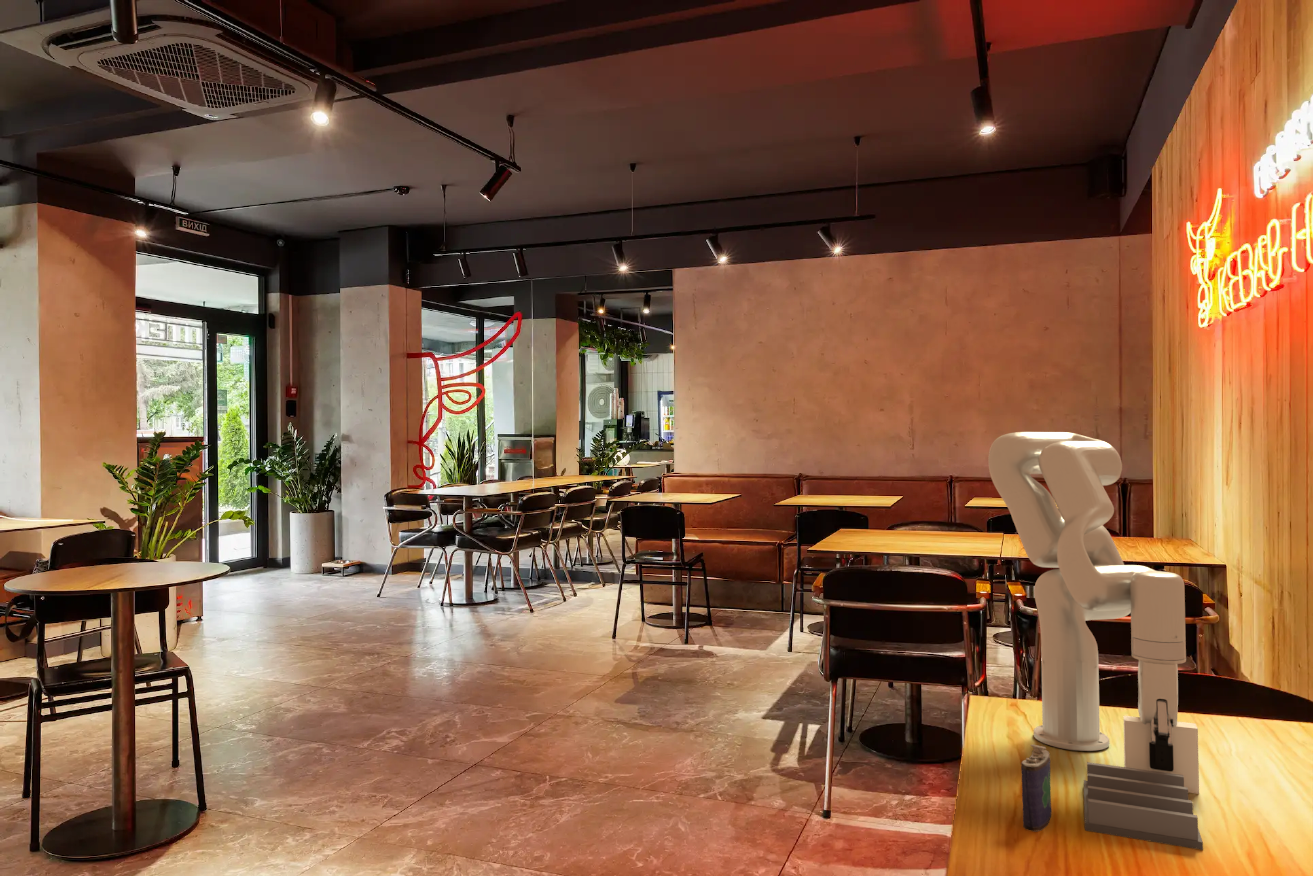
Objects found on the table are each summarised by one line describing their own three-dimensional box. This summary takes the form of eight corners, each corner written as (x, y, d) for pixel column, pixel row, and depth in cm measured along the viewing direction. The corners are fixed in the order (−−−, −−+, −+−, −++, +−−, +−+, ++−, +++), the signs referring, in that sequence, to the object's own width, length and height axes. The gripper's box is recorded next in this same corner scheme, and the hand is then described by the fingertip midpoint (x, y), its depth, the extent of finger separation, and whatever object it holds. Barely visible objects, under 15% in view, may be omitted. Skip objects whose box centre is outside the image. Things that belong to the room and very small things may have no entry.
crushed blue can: (1035, 807, 128) (1034, 735, 128) (1056, 812, 126) (1055, 738, 126) (1019, 829, 120) (1018, 752, 121) (1042, 834, 119) (1041, 756, 119)
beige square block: (1124, 777, 140) (1123, 715, 140) (1196, 787, 136) (1195, 723, 136) (1125, 783, 137) (1124, 720, 137) (1199, 794, 133) (1197, 728, 133)
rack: (1083, 786, 136) (1083, 761, 136) (1187, 801, 130) (1186, 775, 130) (1084, 830, 120) (1084, 801, 120) (1202, 850, 114) (1202, 819, 114)
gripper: (1128, 638, 146) (1130, 747, 145) (1134, 657, 131) (1136, 779, 131) (1180, 642, 143) (1182, 753, 142) (1192, 662, 128) (1194, 787, 127)
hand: (1160, 764), depth 136 cm, fingers closed on beige square block, 3 cm apart
